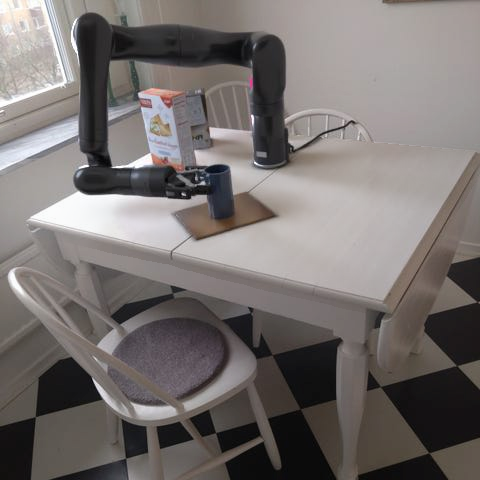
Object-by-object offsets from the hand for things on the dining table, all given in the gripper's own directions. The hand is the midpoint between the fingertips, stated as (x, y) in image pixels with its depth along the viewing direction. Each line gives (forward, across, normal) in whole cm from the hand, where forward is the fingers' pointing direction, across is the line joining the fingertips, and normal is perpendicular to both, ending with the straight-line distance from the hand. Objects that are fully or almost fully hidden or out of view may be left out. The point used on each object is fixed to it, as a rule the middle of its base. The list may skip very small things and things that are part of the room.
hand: (218, 182), depth 114 cm
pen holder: (0, 0, +8) cm, 8 cm away
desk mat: (0, 0, +8) cm, 8 cm away
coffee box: (-22, +50, +8) cm, 56 cm away
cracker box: (-25, +31, +8) cm, 41 cm away
